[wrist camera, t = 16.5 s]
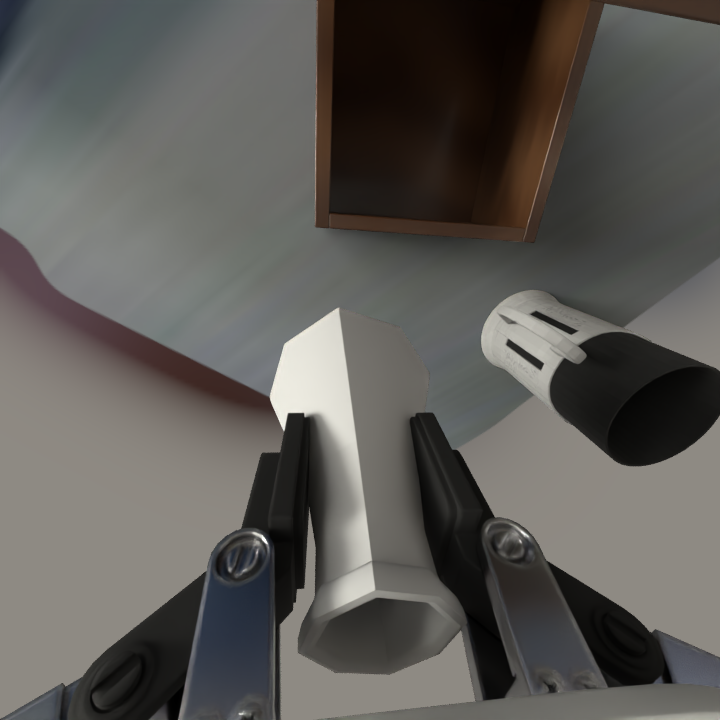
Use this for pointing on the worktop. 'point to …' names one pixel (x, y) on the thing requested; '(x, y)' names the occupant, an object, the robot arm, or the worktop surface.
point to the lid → (675, 8)
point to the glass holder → (603, 378)
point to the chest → (445, 112)
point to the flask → (365, 497)
